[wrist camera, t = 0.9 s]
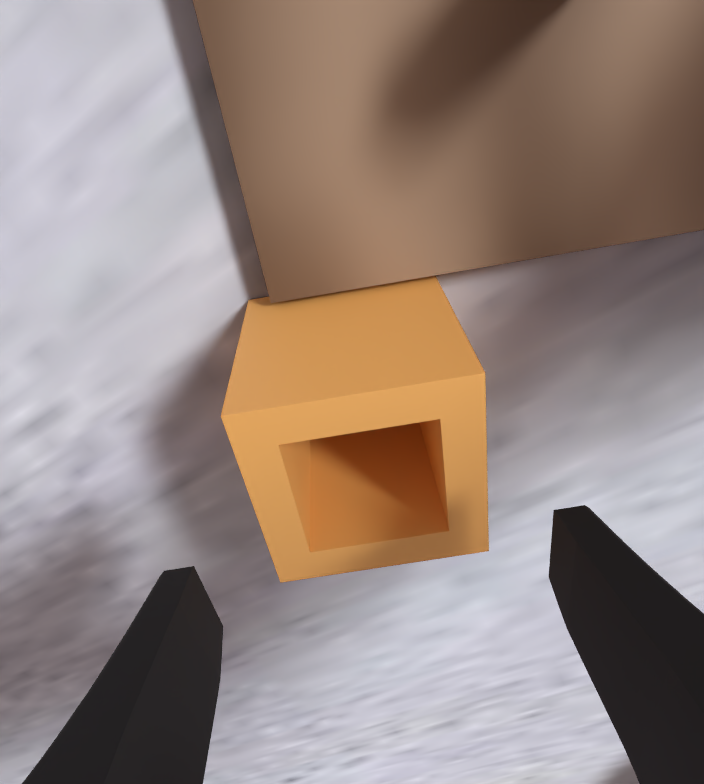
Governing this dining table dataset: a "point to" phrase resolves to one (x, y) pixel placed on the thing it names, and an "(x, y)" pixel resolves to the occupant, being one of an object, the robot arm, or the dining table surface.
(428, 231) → the wooden board with peg
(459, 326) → the orange hollow cube
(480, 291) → the dining table surface
